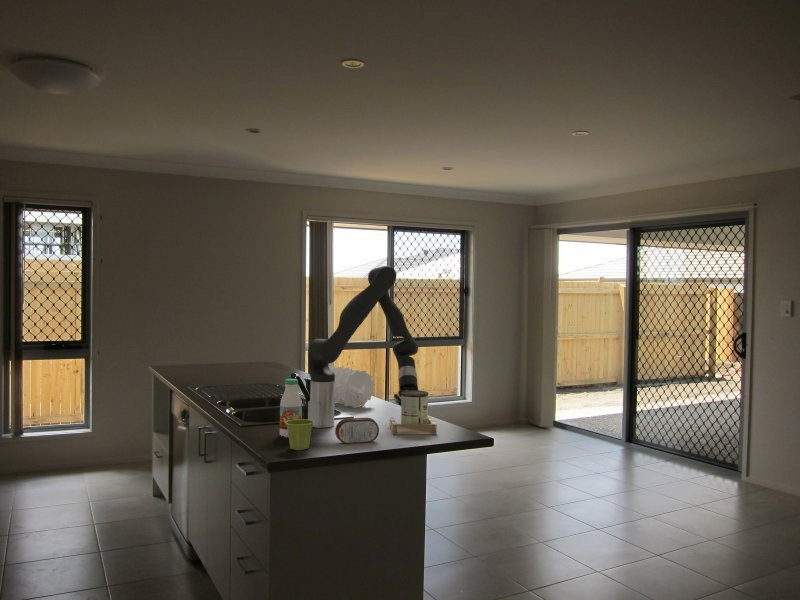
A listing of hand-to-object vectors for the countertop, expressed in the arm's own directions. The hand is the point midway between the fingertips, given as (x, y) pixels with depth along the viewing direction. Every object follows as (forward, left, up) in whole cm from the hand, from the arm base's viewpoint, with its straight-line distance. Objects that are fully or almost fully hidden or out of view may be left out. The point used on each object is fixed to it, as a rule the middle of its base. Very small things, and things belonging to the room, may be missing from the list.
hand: (410, 415), depth 250 cm
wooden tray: (-5, -5, -4) cm, 8 cm away
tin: (-34, -4, -5) cm, 35 cm away
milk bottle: (-42, +21, -4) cm, 47 cm away
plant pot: (-53, +4, -4) cm, 54 cm away
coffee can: (-3, -4, -4) cm, 7 cm away
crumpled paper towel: (+18, +53, -5) cm, 56 cm away
